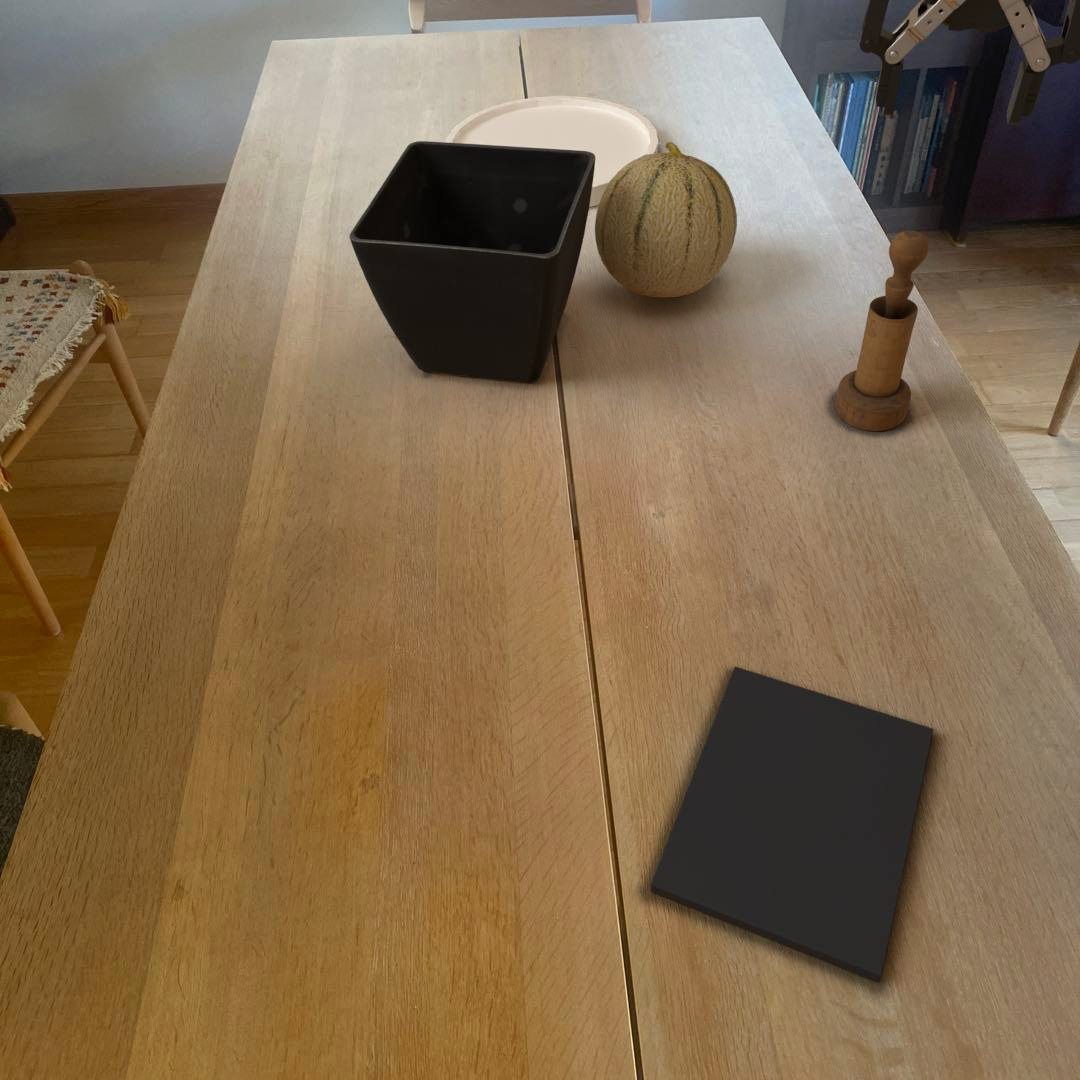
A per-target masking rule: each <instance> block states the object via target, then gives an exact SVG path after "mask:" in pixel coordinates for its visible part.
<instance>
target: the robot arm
mask: <svg viewBox="0 0 1080 1080" xmlns="http://www.w3.org/2000/svg"><path fill="white" fill-rule="evenodd" d="M889 1H890V0H867V5H866V9H865V14H864V17H863V22H862V25H861V26H862V27H861V30H860V38H859V49H860V51H861V52H862V53H865V54H870V53H871V54H874V55H876V56H878V57H879V58H880V60H881V66H880V70H879V75H878V81H877V87H876V90H875V104H876V107H877V108H883V109H882V116H886V117H893V116H894V113H895V107H896V103H897V98H898V94H899V88H900V84H901V79H902V75H903V69H904V65H905V64H904V61H905V57H906V56H907V55H908V54H909V53H910V52H911V51H912V50H913V49H914V48H915V47H916V46H917V45H918V44H919V43H921V42H923V41H924V40H926V38H928V37H929V36H930V35H931V34H932V33H933V32H934V31H935V30H936V29H937V28H938V27H939V26H940V25H942V26H944V27H946V28H948V29H947V30H948V31H954V32H955V31H957V32H958V31H959V32H961V31H966V30H970V29H975V30H978V31H981V32H984V33H998V31H999V30H1001V29H1005V28H1006V27H1009V26H1010V27H1011V30H1012V32H1013V34H1014V36H1015V38H1016V41H1017V43H1018V45H1019V47H1021V49H1022V52H1023V53H1024V54H1023V55H1024V56H1025V59H1021V61H1020V64H1019V68H1018V71H1017V75H1016V78H1015V82H1014V84H1013V89H1012V92H1011V94H1010V99H1009V102H1008V106H1007V110H1006V123H1007V125H1019V124H1020V123H1021V119H1022V117H1027V118H1028V117H1029V116H1030V115H1031V113H1032V112H1033V111H1034V109H1035V105H1036V103H1037V102H1036V101H1037V99H1038V95H1039V93H1040V89H1041V86H1042V83H1043V80H1044V76H1045V74H1046V72H1047V71H1048V70H1049V69H1050V68H1051V67H1054V66H1057V65H1059V64H1062V63H1066V64H1069V65H1071V64H1075V63H1077V62H1078V61H1080V0H1069V1H1068V5H1067V9H1066V12H1065V16H1064V21H1063V25H1062V29H1061V33H1060V35H1059V36H1058V37H1054V38H1051V39H1050V38H1049V39H1047V40H1046V38H1045V36H1044V34H1043V31H1042V29H1041V26H1040V25H1039V23H1038V20H1037V18H1036V14H1035V12H1034V10H1033V8H1032V6H1031V5H1032V4H1033V3H1035V1H1036V0H920V1H919V2H918V3H917V4H916V5H915V6H914V7H913V8H912V9H911V11H910V12H909V14H908V15H907V17H905V19H903V21H902V22H901V23H900V24H899V25H898V26H897V27H896V28H895V29H894V30H893V31H892V32H891V31H889V30H886V29H884V28H883V25H884V21H885V17H886V13H887V10H888V9H887V8H888V6H889Z"/></svg>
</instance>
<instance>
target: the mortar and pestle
mask: <svg viewBox="0 0 1080 1080" xmlns="http://www.w3.org/2000/svg"><path fill="white" fill-rule="evenodd" d="M889 244H890V245H889V247H888V248H889V249H888V256H889V259H890V262H891V265H892V268H893V273H892V276H890V277H888V278H887V279H886V280H885V287H884V292H885V293H884V294H885V295H881V296H877V297H875V298H874V299H872V301H871V302H870V303H869V307H868V312H867V317H866V323H865V327H864V333H863V337H862V342H861V347H860V351H859V356H858V361H857V366H856V369H855V370H852V371H850V372H849V373H846V374H845V375H844V376H843V377H842V378H841V379H840V381H839V383H838V388H837V393H836V397H835V404H834V406H835V407H834V408H835V411H836V413H837V415H838V417H839V418H840V419H841V420H842V421H843V422H845V423H846V424H847V425H850V426H852V427H853V428H855V429H858V430H859V429H860V430H863V431H869V432H882V431H883V432H884V431H888V430H891V429H894V428H896V427H898V426H899V425H901V424H903V422H904V421H905V419H906V418H907V415H908V411H909V406H910V402H911V398H912V391H911V387H910V386H909V384H908V383H907V382H906V380H904V379H903V378H902V375H903V370H904V367H905V362H906V358H907V353H908V350H909V346H910V342H911V338H912V334H913V332H914V331H913V330H914V327H915V323H916V320H917V316H918V312H919V309H918V305H917V304H916V303H915V302H914V301H913V300H911V299H909V297H910V295H911V293H912V291H913V289H914V286H915V282H914V281H913V280H912V274H913V272H914V271H915V270H916V269H917V268H918V267H919V266H920V265H921V264H922V263H923V262H924V261H925V259H926V258H927V256H928V252H929V242H928V240H927V238H926V236H925V235H924V234H922V233H921V232H919V231H916V230H903V231H900V232H899V233H897V234H896V235H895V236H894V237H893V239H892V240H891V242H890V243H889Z"/></svg>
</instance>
